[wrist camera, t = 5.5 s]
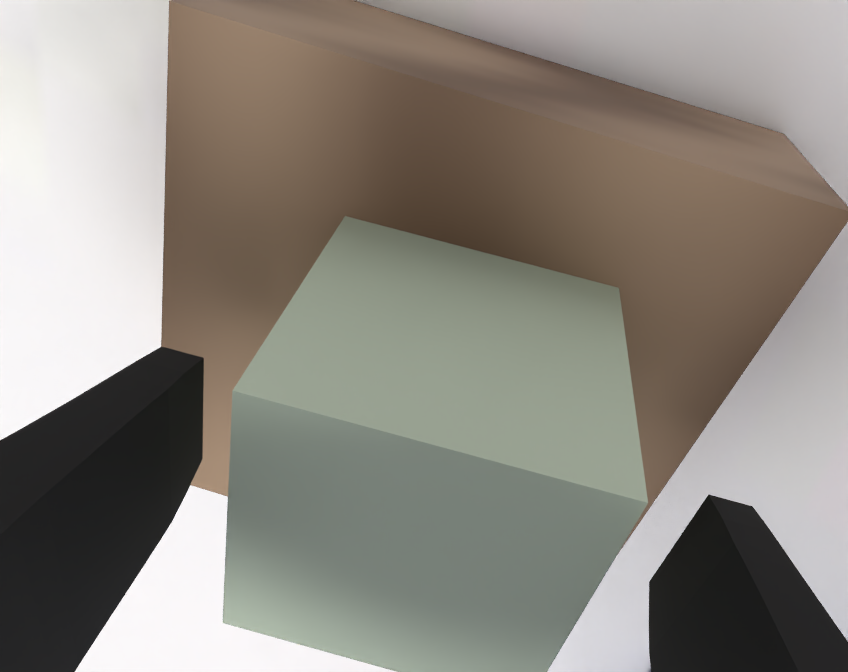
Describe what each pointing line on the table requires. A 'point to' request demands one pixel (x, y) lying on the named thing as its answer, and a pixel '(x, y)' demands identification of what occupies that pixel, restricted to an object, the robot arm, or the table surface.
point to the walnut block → (470, 194)
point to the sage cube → (431, 458)
